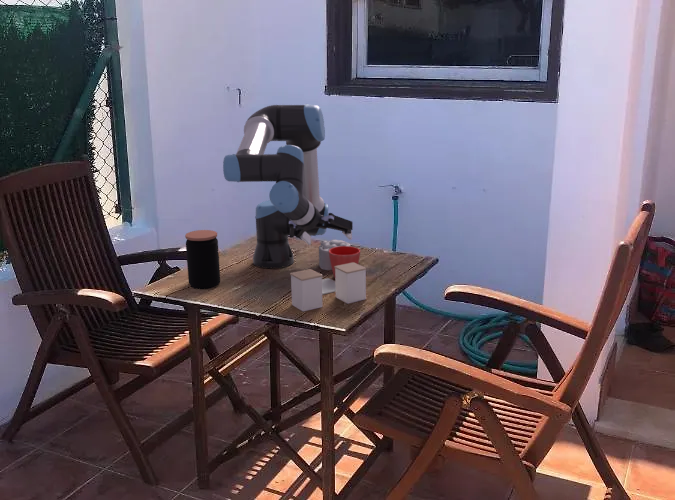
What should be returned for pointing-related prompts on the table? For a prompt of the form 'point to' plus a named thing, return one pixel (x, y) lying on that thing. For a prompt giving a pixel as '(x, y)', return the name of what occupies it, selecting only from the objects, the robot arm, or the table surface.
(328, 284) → the felt mat
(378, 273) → the table surface
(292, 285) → the cover canister
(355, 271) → the empty canister
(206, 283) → the coffee jar
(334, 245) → the lumpy-topped squat cylinder
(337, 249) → the flower pot
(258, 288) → the table surface
